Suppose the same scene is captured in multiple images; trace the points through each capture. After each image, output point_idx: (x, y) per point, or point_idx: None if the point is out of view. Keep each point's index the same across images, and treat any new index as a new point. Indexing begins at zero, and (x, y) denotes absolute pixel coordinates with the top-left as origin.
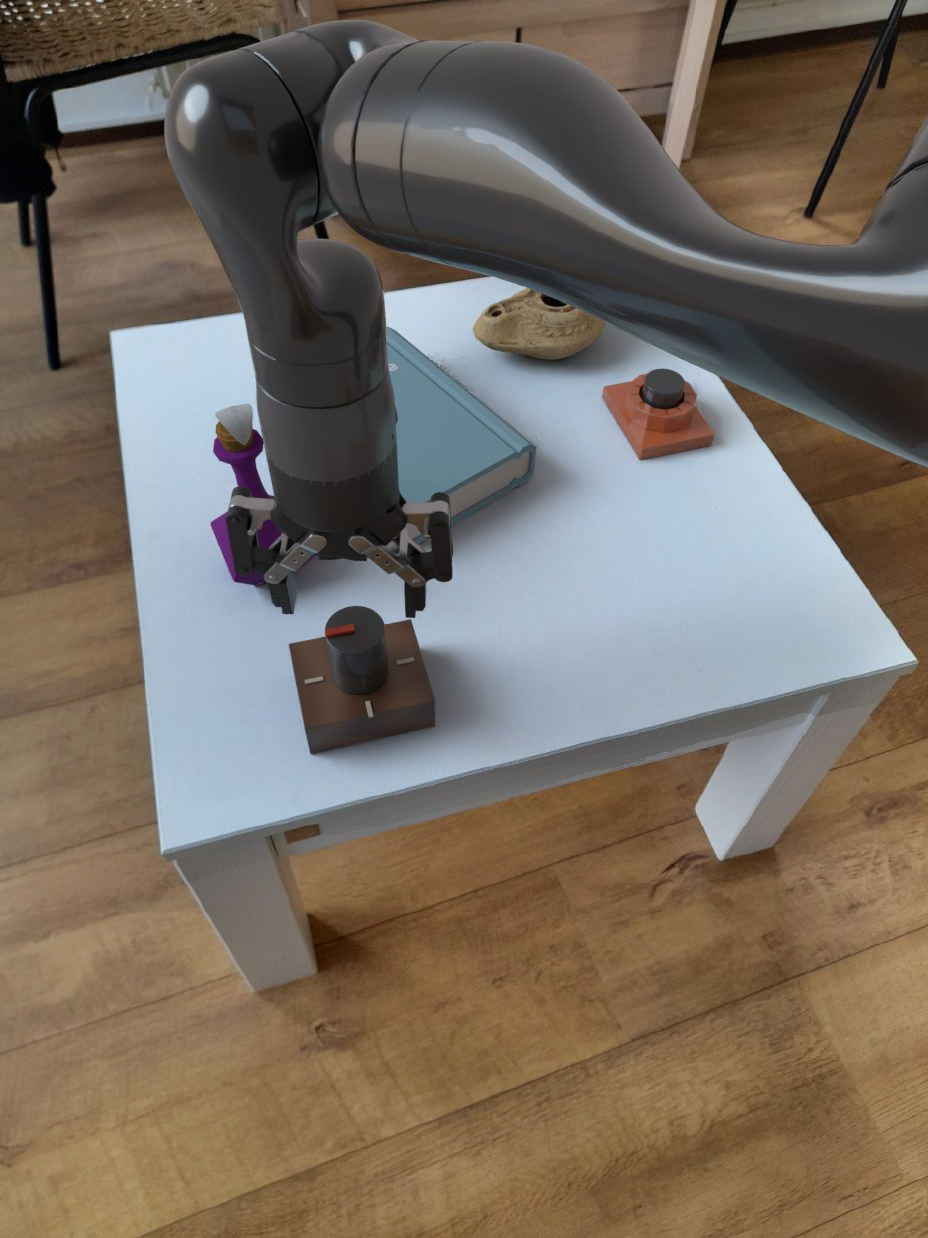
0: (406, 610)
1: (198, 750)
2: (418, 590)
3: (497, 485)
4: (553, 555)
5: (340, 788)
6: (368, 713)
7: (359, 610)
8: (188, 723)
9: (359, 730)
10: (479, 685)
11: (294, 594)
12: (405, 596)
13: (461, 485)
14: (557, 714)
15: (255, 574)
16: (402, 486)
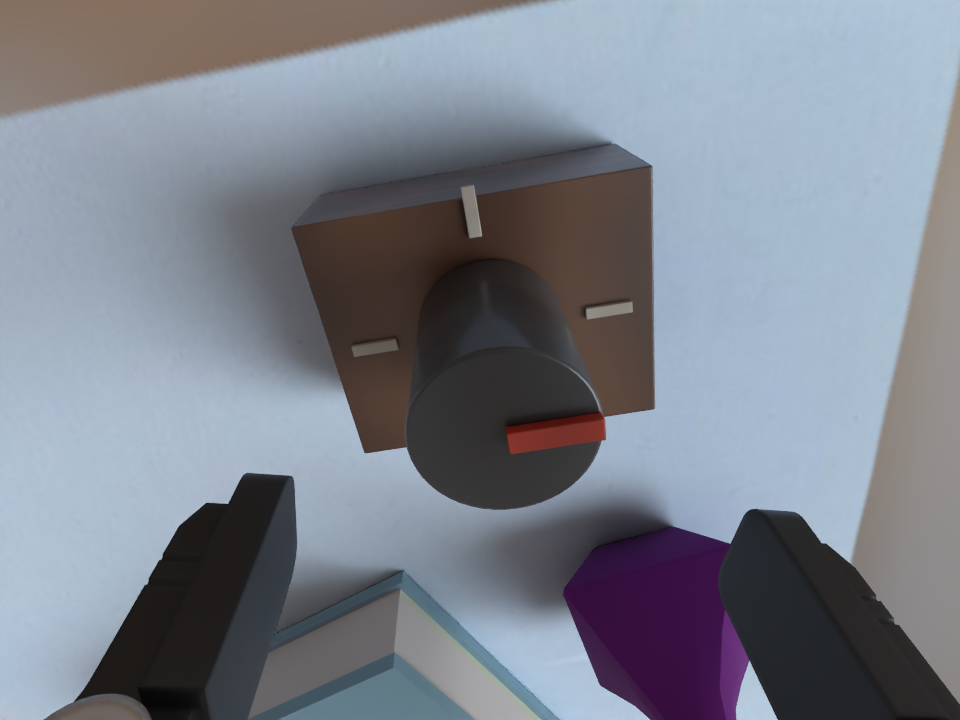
0: (265, 514)
1: (859, 179)
2: (154, 639)
3: None
4: (107, 559)
5: (554, 35)
6: (474, 197)
7: (486, 495)
8: (862, 249)
9: (500, 175)
10: (224, 294)
11: (744, 589)
12: (231, 607)
13: (269, 713)
14: (22, 203)
15: (690, 558)
16: (386, 717)
